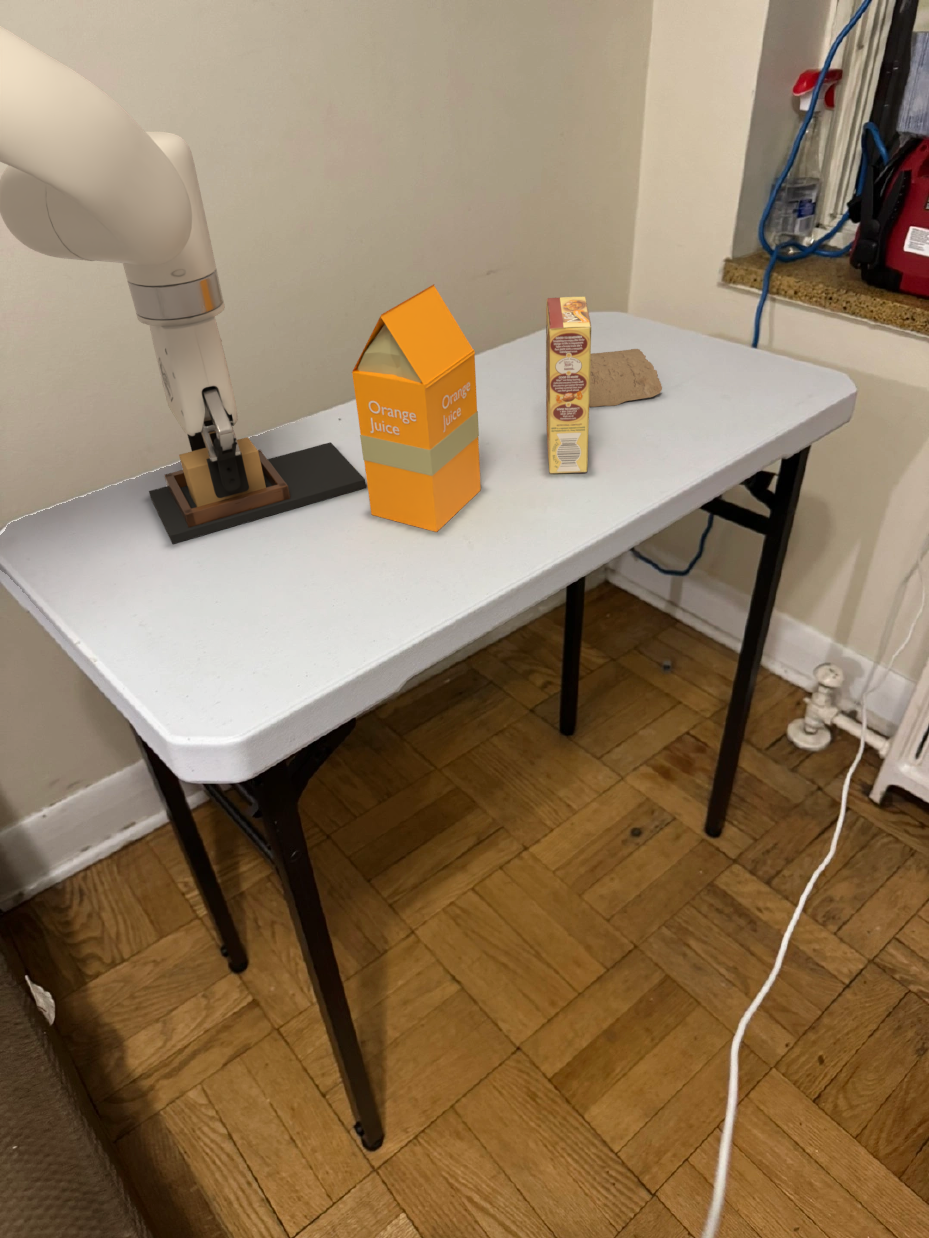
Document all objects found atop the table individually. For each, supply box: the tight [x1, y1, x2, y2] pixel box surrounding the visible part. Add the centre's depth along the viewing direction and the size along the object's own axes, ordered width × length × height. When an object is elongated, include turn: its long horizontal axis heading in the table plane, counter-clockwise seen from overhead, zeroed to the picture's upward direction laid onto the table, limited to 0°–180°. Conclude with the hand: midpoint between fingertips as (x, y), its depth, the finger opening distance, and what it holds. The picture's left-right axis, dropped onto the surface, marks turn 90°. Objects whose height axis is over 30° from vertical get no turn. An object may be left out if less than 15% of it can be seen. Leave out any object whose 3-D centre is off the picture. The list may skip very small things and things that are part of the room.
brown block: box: [178, 437, 266, 507], centre depth 86 cm, size 4×7×4 cm, turn 117°
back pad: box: [148, 442, 367, 545], centre depth 88 cm, size 20×10×2 cm, turn 118°
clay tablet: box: [589, 348, 663, 408], centre depth 107 cm, size 14×10×3 cm
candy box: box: [545, 296, 592, 474], centre depth 88 cm, size 9×4×15 cm, turn 178°
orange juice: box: [351, 283, 482, 533], centre depth 80 cm, size 8×9×20 cm
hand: (221, 474), depth 86 cm, fingers open, 7 cm apart
